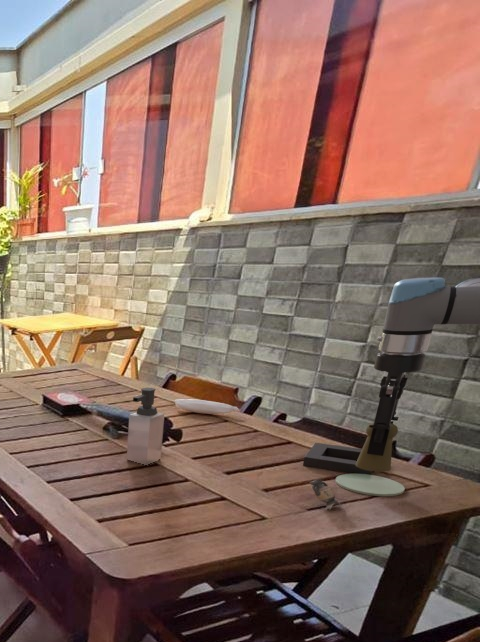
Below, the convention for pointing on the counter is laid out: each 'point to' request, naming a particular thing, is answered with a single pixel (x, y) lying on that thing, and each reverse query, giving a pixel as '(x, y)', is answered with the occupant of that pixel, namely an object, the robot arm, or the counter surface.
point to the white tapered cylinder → (204, 406)
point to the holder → (320, 459)
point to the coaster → (369, 484)
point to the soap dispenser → (145, 430)
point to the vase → (324, 493)
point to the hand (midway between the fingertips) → (376, 450)
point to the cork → (377, 461)
